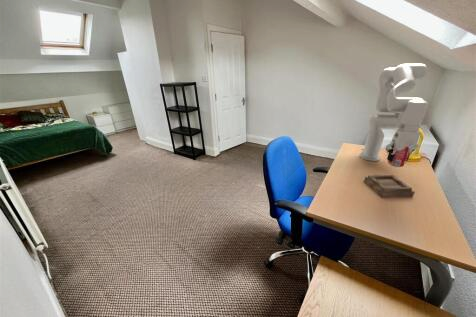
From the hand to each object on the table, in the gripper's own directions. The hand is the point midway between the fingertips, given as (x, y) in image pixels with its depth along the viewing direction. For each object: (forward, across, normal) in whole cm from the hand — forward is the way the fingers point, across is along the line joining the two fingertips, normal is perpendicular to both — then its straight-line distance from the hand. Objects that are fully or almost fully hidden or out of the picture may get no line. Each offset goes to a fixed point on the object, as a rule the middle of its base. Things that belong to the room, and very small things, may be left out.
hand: (396, 160), depth 103 cm
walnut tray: (+18, 0, 0) cm, 18 cm away
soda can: (+3, 0, 0) cm, 3 cm away
